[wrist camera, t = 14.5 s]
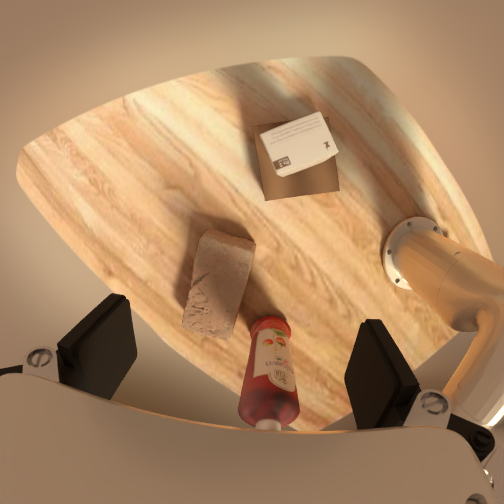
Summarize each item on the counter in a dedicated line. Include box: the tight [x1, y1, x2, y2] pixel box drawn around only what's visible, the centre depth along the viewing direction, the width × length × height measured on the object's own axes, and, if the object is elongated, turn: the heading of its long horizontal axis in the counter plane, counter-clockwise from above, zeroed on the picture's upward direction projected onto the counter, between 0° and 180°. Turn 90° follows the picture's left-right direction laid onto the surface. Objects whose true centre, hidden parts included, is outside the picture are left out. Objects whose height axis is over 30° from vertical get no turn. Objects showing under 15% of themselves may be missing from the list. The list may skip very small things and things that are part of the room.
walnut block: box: [253, 117, 340, 201], centre depth 37 cm, size 10×10×5 cm
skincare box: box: [260, 111, 339, 177], centre depth 28 cm, size 6×4×12 cm
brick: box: [182, 229, 256, 341], centre depth 43 cm, size 16×8×5 cm, turn 165°
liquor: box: [238, 316, 300, 431], centre depth 34 cm, size 7×7×28 cm
